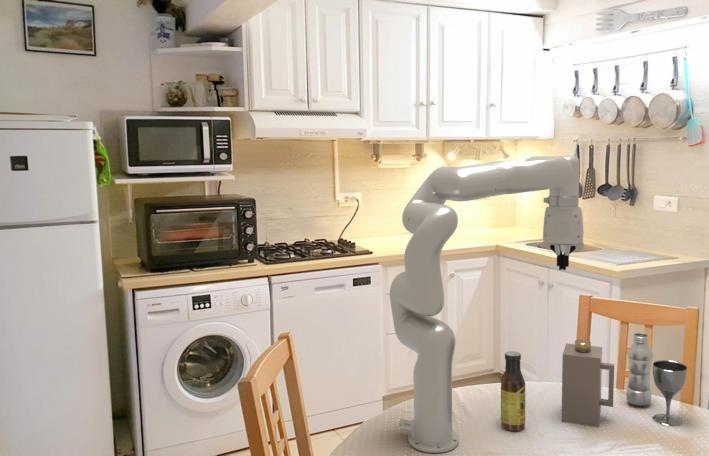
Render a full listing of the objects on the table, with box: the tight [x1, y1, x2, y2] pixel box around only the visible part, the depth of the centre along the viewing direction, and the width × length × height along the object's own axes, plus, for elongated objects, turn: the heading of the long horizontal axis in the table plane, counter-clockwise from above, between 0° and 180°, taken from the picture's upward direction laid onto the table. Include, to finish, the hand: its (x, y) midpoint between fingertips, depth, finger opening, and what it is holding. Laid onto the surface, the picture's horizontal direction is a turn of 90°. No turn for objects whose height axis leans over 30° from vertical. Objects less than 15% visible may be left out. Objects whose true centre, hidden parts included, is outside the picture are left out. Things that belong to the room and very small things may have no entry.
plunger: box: [574, 339, 592, 352], centre depth 165 cm, size 7×7×19 cm
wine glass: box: [652, 359, 688, 427], centre depth 162 cm, size 8×8×15 cm
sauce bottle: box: [500, 350, 526, 432], centre depth 161 cm, size 7×6×20 cm
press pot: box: [561, 342, 615, 428], centre depth 165 cm, size 12×9×19 cm
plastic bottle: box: [625, 332, 654, 407], centre depth 172 cm, size 6×7×20 cm
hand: (562, 268), depth 169 cm, fingers closed
